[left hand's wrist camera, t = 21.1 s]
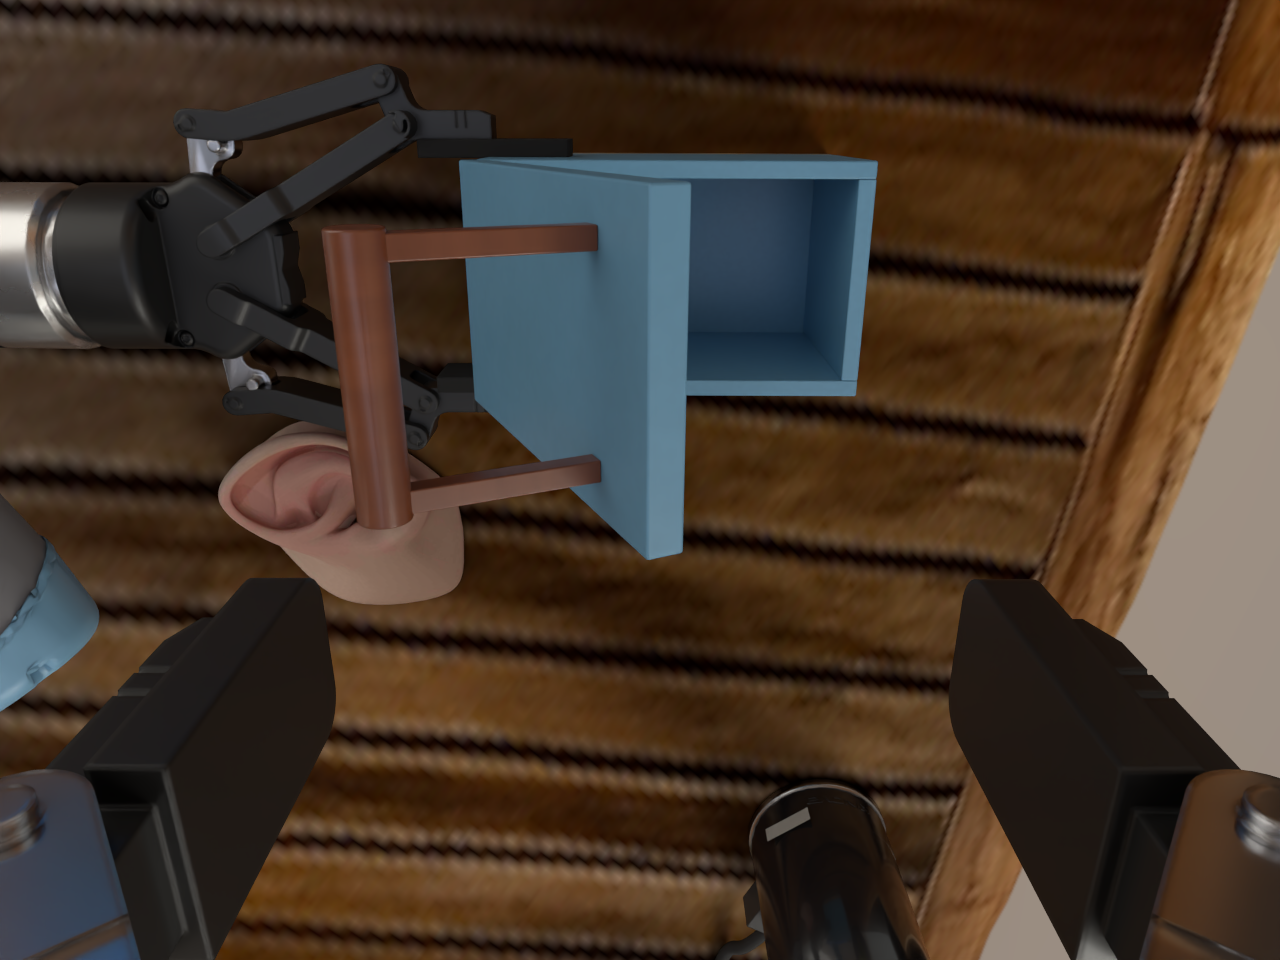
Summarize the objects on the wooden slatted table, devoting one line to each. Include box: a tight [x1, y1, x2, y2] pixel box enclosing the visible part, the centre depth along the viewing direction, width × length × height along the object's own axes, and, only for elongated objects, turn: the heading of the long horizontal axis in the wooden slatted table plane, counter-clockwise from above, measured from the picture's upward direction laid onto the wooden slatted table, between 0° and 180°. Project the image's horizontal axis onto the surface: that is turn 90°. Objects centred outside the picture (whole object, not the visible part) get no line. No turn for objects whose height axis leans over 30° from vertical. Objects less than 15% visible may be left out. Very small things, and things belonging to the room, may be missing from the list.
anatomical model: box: [218, 421, 464, 605], centre depth 51 cm, size 13×4×12 cm
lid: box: [321, 160, 691, 560], centre depth 28 cm, size 17×10×8 cm
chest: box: [477, 153, 878, 396], centre depth 43 cm, size 16×10×11 cm, turn 90°
